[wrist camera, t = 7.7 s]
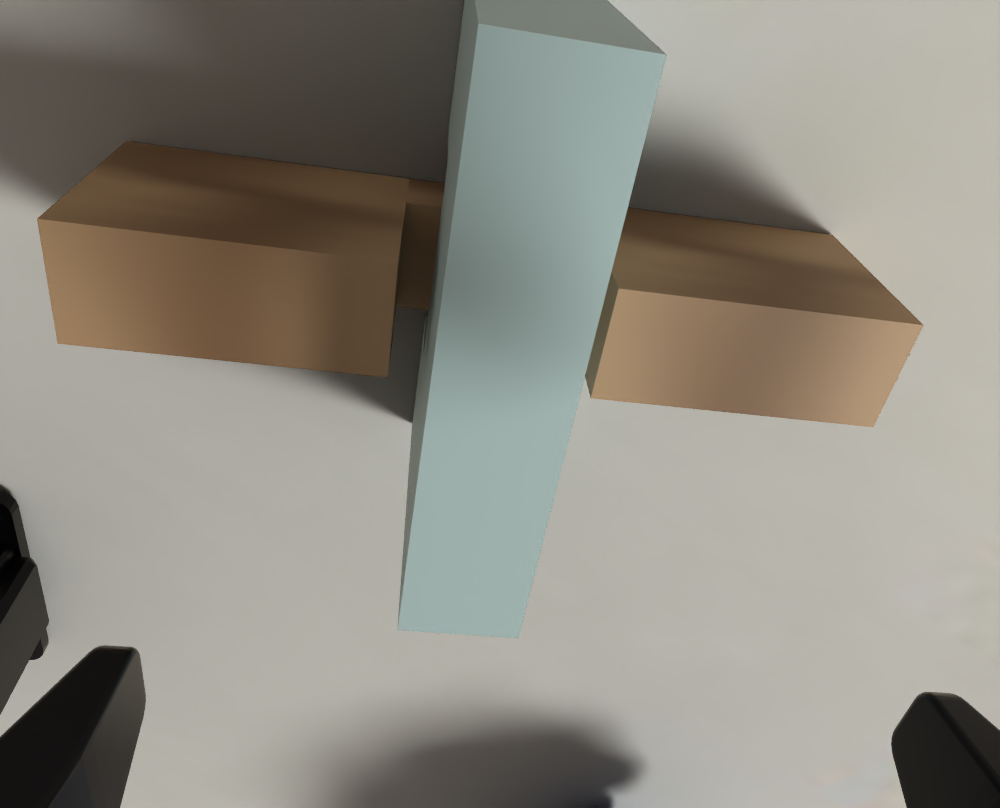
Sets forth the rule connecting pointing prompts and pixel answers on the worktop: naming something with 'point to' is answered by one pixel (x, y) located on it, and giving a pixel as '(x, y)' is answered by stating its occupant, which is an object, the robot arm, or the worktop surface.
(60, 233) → the slot rail
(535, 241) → the cross plate
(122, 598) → the worktop surface
